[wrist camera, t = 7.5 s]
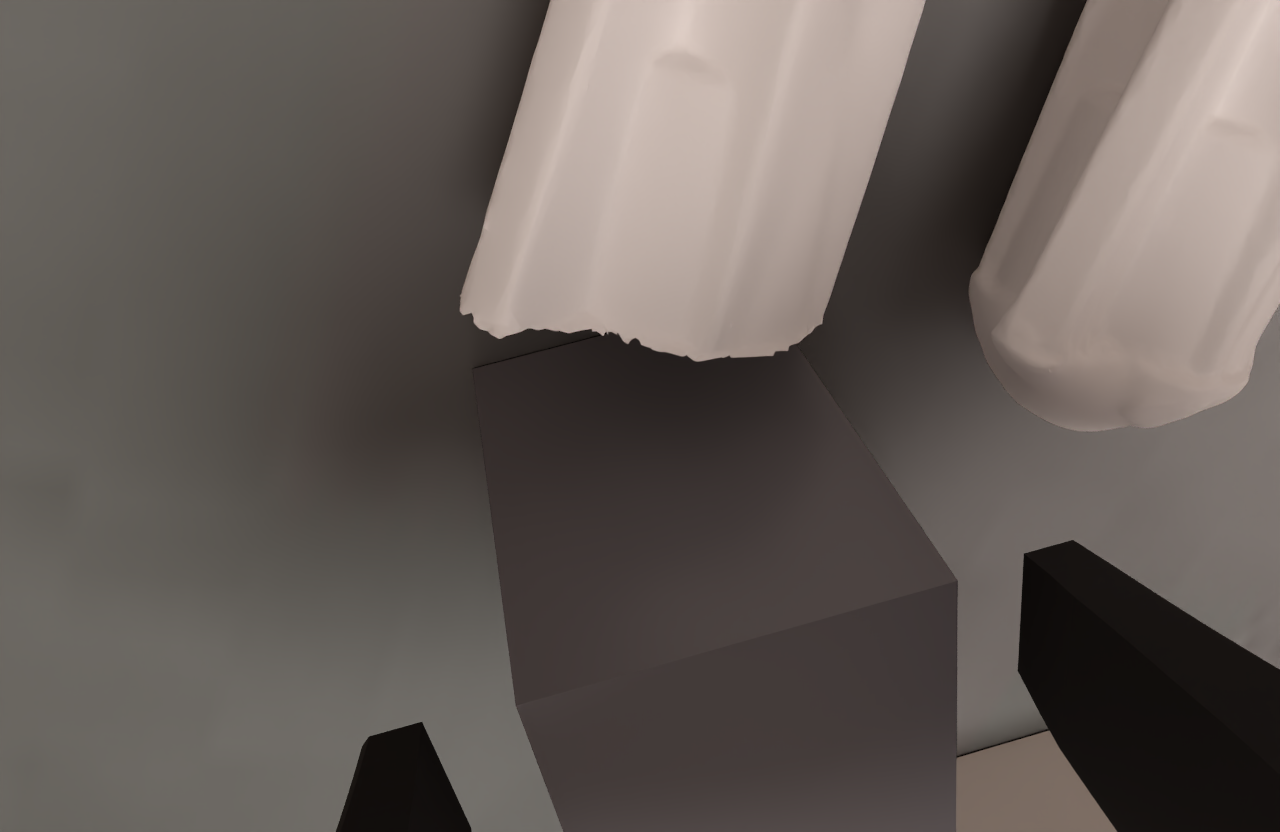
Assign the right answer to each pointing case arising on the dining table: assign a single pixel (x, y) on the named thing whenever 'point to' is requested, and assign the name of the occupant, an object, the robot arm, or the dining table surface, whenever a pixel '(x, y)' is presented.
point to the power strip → (1024, 791)
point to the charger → (714, 598)
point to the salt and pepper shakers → (839, 173)
